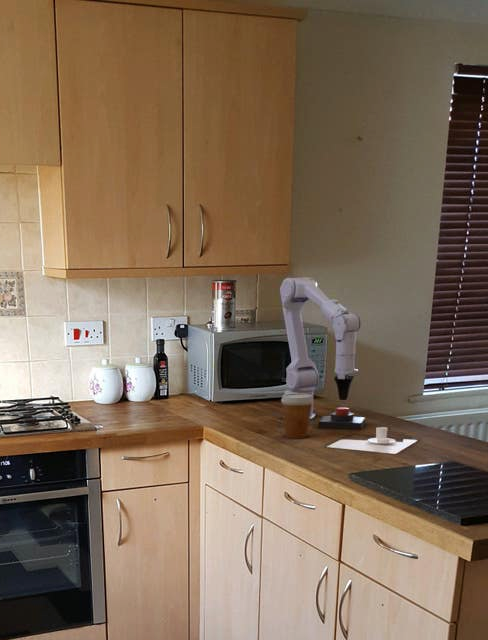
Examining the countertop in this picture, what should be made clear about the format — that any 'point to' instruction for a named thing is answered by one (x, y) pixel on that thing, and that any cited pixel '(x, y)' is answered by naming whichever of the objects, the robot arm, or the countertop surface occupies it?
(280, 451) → the countertop surface
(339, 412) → the red push button
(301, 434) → the disposable coffee cup
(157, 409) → the countertop surface
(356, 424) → the control block
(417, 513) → the countertop surface
